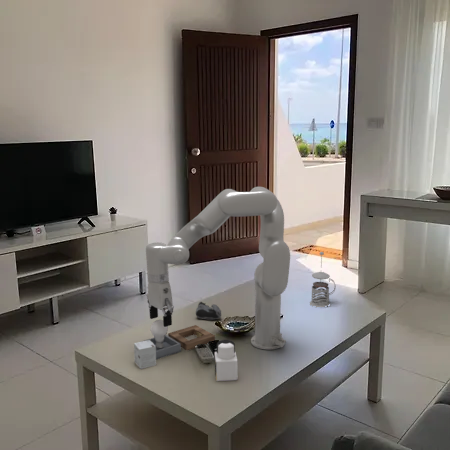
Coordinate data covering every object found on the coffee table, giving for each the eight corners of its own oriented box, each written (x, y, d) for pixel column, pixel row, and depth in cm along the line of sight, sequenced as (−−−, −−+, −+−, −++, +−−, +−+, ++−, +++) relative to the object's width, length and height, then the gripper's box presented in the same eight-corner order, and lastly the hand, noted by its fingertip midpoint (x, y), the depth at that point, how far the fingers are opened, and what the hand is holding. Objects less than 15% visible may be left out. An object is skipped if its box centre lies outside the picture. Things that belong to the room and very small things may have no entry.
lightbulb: (165, 352, 183) (164, 324, 180) (148, 351, 184) (147, 323, 182) (170, 345, 189) (170, 317, 186) (154, 343, 190) (153, 316, 188)
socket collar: (214, 341, 193) (214, 335, 193) (186, 350, 185) (186, 344, 185) (195, 330, 203) (195, 325, 203) (168, 339, 195) (168, 333, 195)
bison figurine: (220, 322, 212) (225, 312, 222) (220, 307, 210) (224, 298, 220) (193, 321, 214) (199, 311, 224) (192, 305, 213) (198, 296, 222)
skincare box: (134, 362, 177) (133, 342, 175) (150, 358, 180) (149, 339, 178) (140, 369, 172) (139, 349, 170) (156, 365, 175) (156, 345, 173)
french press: (308, 299, 238) (310, 248, 233) (333, 301, 236) (335, 249, 231) (309, 307, 228) (311, 254, 223) (335, 308, 227) (337, 255, 222)
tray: (181, 351, 185) (180, 343, 184) (154, 360, 178) (154, 352, 178) (165, 341, 193) (165, 334, 193) (139, 349, 187) (139, 341, 186)
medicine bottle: (214, 370, 170) (214, 337, 168) (235, 370, 171) (235, 337, 168) (216, 381, 163) (215, 347, 161) (237, 380, 164) (237, 346, 161)
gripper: (180, 280, 176) (182, 326, 179) (155, 269, 189) (157, 312, 193) (161, 285, 171) (164, 331, 175) (137, 274, 185) (140, 317, 188)
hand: (160, 321), depth 184 cm, fingers open, 9 cm apart
